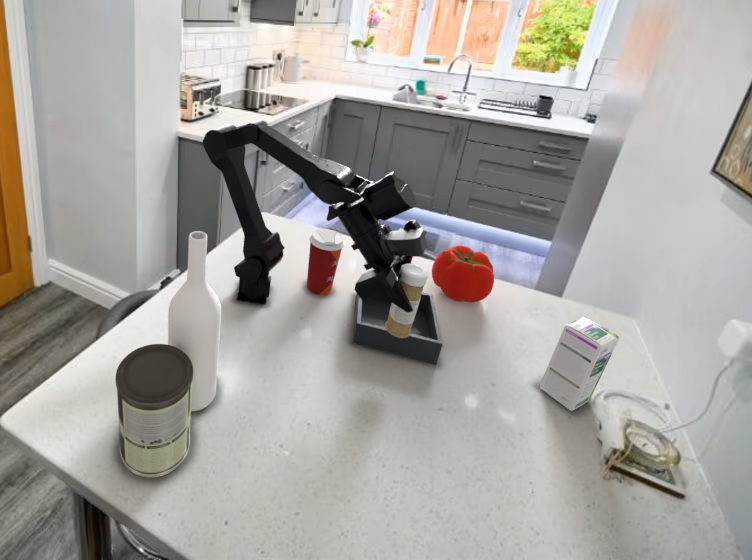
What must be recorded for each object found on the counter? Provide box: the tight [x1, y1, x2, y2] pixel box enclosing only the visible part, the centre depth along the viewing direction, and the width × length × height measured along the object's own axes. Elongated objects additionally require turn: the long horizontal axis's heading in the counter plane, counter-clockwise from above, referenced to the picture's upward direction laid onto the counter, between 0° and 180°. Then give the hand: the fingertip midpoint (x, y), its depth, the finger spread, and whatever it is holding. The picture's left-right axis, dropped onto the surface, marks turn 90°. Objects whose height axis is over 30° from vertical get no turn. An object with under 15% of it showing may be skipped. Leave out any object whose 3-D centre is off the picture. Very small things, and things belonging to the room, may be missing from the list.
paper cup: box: [306, 228, 345, 297], centre depth 99 cm, size 8×8×14 cm
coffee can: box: [115, 343, 193, 479], centre depth 61 cm, size 10×10×14 cm
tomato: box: [431, 244, 495, 303], centre depth 102 cm, size 14×13×10 cm
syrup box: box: [539, 316, 620, 412], centre depth 75 cm, size 6×6×14 cm
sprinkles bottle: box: [386, 263, 429, 338], centre depth 78 cm, size 5×5×14 cm
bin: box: [352, 291, 444, 365], centre depth 90 cm, size 16×16×5 cm
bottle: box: [167, 230, 222, 412], centre depth 67 cm, size 8×8×30 cm
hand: (413, 304), depth 77 cm, fingers closed on sprinkles bottle, 4 cm apart
